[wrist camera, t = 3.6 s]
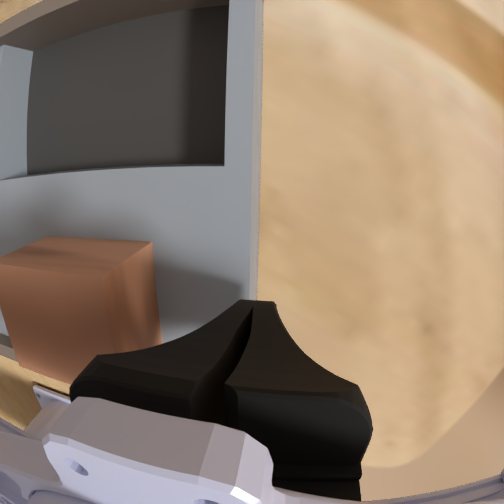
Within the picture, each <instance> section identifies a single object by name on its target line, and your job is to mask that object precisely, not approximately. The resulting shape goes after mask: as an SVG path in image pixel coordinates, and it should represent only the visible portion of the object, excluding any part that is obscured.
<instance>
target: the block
mask: <svg viewBox="0 0 504 504" xmlns="http://www.w3.org/2000/svg"><path fill="white" fill-rule="evenodd" d="M0 308H1V312H2V315H3V318H4V322H5V325H6V328H7V331H8V334H9V337H10V340H11V343H12V346H13V349H14V352H15V355H16V357H17V360H18V363H19V365H20V366H22V367H24V368H27V369H29V370H32V371H34V372H37V373H39V374H42V375H45V376H48V377H50V378H53V379H56V380H59V381H62V382H65V383H68V384H72V383H73V381H74V380H75V379H76V377H77V376H78V375H79V374H80V373H81V372H82V371H83V370H84V368H85V367H86V366H87V365H88V364H89V363H90V362H91V361H92V360H93V358H94V357H95V356H96V355H101V354H113V353H123V352H130V351H135V350H140V349H145V348H149V347H153V346H157V345H160V344H162V336H161V328H160V320H159V311H158V302H157V292H156V282H155V270H154V258H153V243H152V242H149V241H129V240H109V239H89V238H69V237H48V236H47V237H45V238H42V239H40V240H38V241H35V242H33V243H31V244H28V245H26V246H24V247H22V248H19V249H17V250H15V251H13V252H10V253H8V254H6V255H4V256H2V257H0Z"/></svg>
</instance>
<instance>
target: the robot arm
mask: <svg viewBox="0 0 504 504" xmlns="http://www.w3.org/2000/svg"><path fill="white" fill-rule="evenodd" d="M33 391H34V393H35V395H36V398H37V400H38V402H39V404H40V406H41V408H42V409H41V411H40V412H39V413H38V414H37V415H36V416H35V417H34V419H33V420H32V421H31V422H30V423H29V424H28V426H27V427H26V428H25V429H24V430H21V429H20V428H18V427H16V426H14V425H12V424H11V423H9V422H7V421H5V420H4V419H2V418H0V504H504V469H503V470H502V472H501V474H499V475H496V476H493V477H490V478H486V479H483V480H480V481H476V482H473V483H469V484H465V485H461V486H457V487H453V488H449V489H445V490H440V491H435V492H430V493H425V494H419V495H413V496H407V497H400V498H392V499H384V500H373V501H361V494H360V484H359V479H360V478H361V476H362V470H361V461H362V458H363V456H364V454H365V452H366V449H367V447H368V445H369V442H370V440H371V436H372V431H373V426H372V420H371V415H370V412H369V409H368V406H367V404H366V401H365V399H364V397H363V395H362V392H361V390H360V388H359V386H358V385H356V384H354V383H352V382H349V381H347V380H345V379H343V378H341V377H338V376H336V375H334V374H333V373H331V372H329V371H328V370H326V369H324V368H323V367H321V366H320V365H319V364H317V363H316V362H314V361H313V360H312V359H311V358H310V357H308V356H307V355H306V354H305V353H304V352H303V351H302V350H301V349H300V348H299V347H298V345H297V344H296V343H295V342H294V340H293V339H292V338H291V336H290V335H289V333H288V332H287V330H286V328H285V326H284V325H283V323H282V321H281V319H280V317H279V314H278V311H277V308H276V304H275V303H274V302H272V301H257V300H244V299H240V300H238V301H237V302H236V303H234V304H233V305H232V306H231V307H229V308H228V309H227V310H225V311H224V312H223V313H221V314H220V315H219V316H217V317H216V318H214V319H213V320H211V321H210V322H208V323H206V324H205V325H203V326H202V327H200V328H198V329H196V330H194V331H193V332H191V333H188V334H186V335H184V336H182V337H180V338H177V339H175V340H172V341H169V342H166V343H163V344H160V345H157V346H153V347H149V348H145V349H140V350H135V351H130V352H123V353H113V354H101V355H96V356H95V357H94V358H93V360H92V361H91V362H90V363H89V364H88V365H87V366H86V367H85V368H84V370H83V371H82V372H81V373H80V374H79V375H78V376H77V377H76V379H75V380H74V381H73V383H72V384H71V386H70V392H69V397H68V396H65V395H62V394H59V393H57V392H54V391H51V390H49V389H46V388H44V387H41V386H39V385H34V386H33Z"/></svg>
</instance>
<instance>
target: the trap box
mask: <svg viewBox="0 0 504 504" xmlns="http://www.w3.org/2000/svg"><path fill="white" fill-rule="evenodd" d="M262 57H263V0H43V1H41V2H39V3H37V4H35V5H33V6H31V7H29V8H27V9H26V10H24V11H22V12H20V13H18V14H16V15H15V16H13V17H11V18H9V19H8V20H6V21H4V22H3V23H1V24H0V257H2V256H4V255H6V254H8V253H10V252H13V251H15V250H17V249H19V248H22V247H24V246H26V245H28V244H31V243H33V242H35V241H38V240H40V239H42V238H45V237H47V236H48V237H69V238H89V239H109V240H129V241H149V242H152V243H153V258H154V270H155V282H156V292H157V302H158V311H159V320H160V328H161V336H162V344H163V343H166V342H169V341H172V340H175V339H177V338H180V337H182V336H184V335H186V334H188V333H191V332H193V331H194V330H196V329H198V328H200V327H202V326H203V325H205V324H206V323H208V322H210V321H211V320H213V319H214V318H216V317H217V316H219V315H220V314H221V313H223V312H224V311H225V310H227V309H228V308H229V307H231V306H232V305H233V304H234V303H236V302H237V301H238V300H240V299H244V300H257V272H258V236H259V196H260V154H261V108H262ZM0 355H3V356H5V357H7V358H10V359H12V360H15V361H17V362H18V360H17V357H16V355H15V352H14V349H13V346H12V343H11V340H10V337H9V334H8V331H7V328H6V325H5V322H4V318H3V315H2V312H1V308H0Z"/></svg>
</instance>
